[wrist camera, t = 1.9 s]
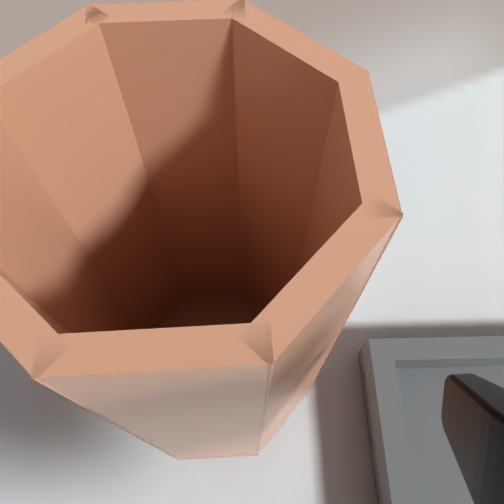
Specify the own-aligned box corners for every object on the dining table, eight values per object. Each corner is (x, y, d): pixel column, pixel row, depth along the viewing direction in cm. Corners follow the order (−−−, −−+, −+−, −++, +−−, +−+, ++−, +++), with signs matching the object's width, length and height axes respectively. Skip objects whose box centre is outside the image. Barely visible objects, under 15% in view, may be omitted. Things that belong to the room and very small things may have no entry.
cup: (310, 454, 17) (437, 355, 5) (127, 465, 17) (-142, 389, 5) (292, 287, 20) (350, -6, 8) (137, 295, 20) (-22, 6, 8)
